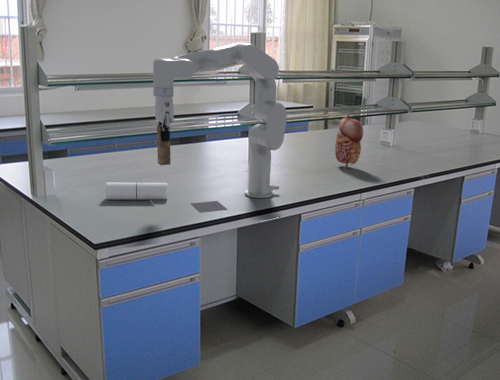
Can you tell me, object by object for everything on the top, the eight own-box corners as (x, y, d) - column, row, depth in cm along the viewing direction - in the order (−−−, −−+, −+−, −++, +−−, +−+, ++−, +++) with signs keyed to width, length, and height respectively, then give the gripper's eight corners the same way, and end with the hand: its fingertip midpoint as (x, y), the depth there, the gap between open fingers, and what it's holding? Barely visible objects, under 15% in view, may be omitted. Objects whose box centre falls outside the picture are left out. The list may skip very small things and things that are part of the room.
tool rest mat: (217, 202, 222) (217, 200, 222) (227, 211, 212) (227, 209, 211) (190, 204, 217) (190, 203, 217) (199, 213, 207) (199, 212, 206)
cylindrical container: (167, 203, 221) (106, 202, 218) (167, 192, 227) (108, 192, 223) (167, 189, 217) (105, 189, 213) (167, 179, 222) (107, 179, 219)
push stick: (167, 162, 209) (167, 124, 204) (170, 164, 205) (169, 126, 201) (157, 162, 207) (157, 125, 203) (160, 165, 204) (159, 127, 199)
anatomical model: (345, 163, 302) (350, 111, 293) (364, 170, 289) (370, 116, 280) (328, 165, 296) (333, 112, 287) (347, 172, 283) (352, 116, 274)
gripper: (179, 94, 192) (179, 143, 198) (166, 89, 207) (166, 135, 212) (159, 94, 189) (160, 144, 195) (148, 89, 204) (148, 136, 209)
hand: (163, 139), depth 203 cm, fingers closed on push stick, 4 cm apart
